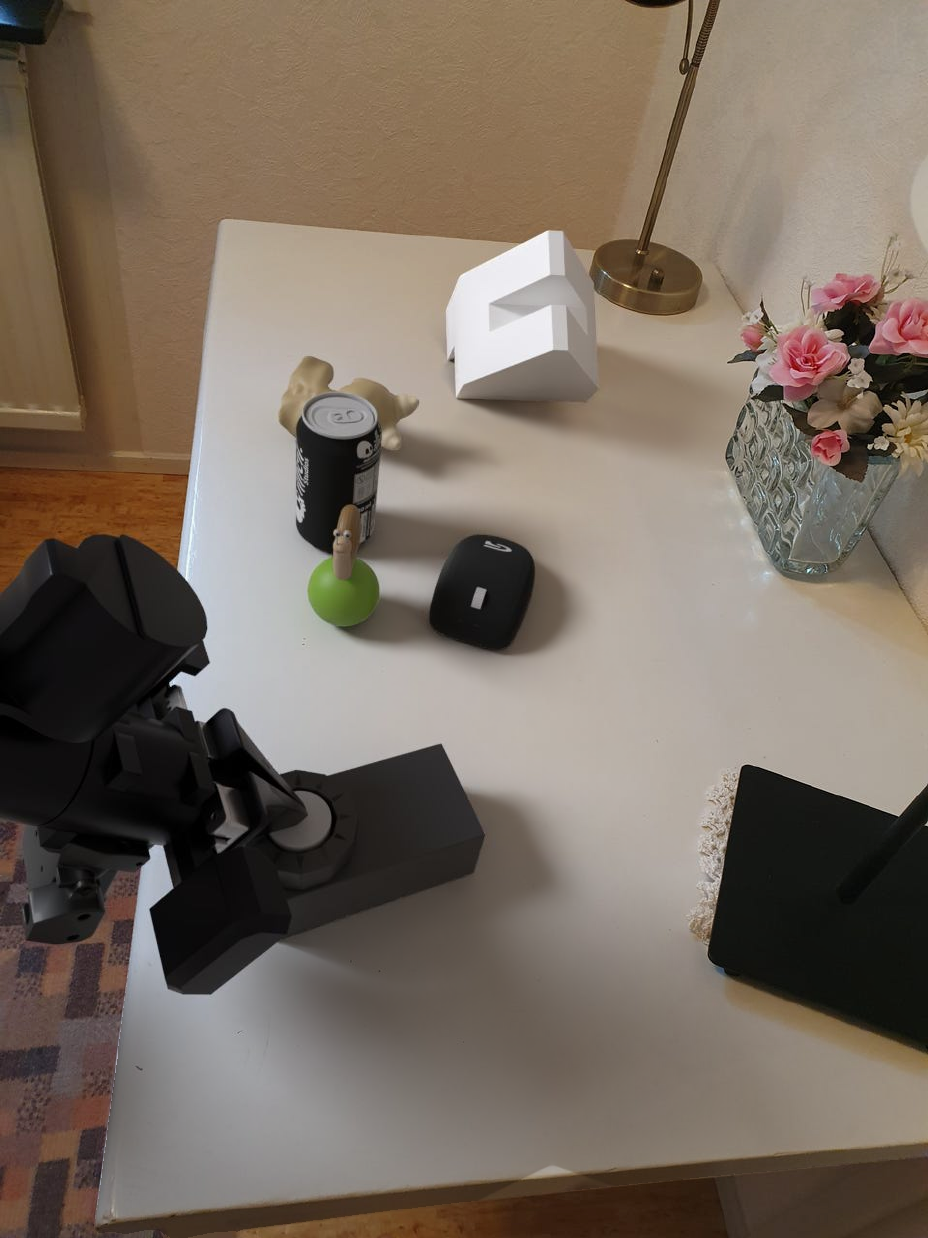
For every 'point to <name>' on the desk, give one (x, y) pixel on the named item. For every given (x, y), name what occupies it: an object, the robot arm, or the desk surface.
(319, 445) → the beverage can
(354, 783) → the push button base
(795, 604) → the desk surface
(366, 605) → the snail figurine
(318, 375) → the dinosaur figurine
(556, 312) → the slotted wedge
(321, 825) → the gray round disc
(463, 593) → the computer mouse
